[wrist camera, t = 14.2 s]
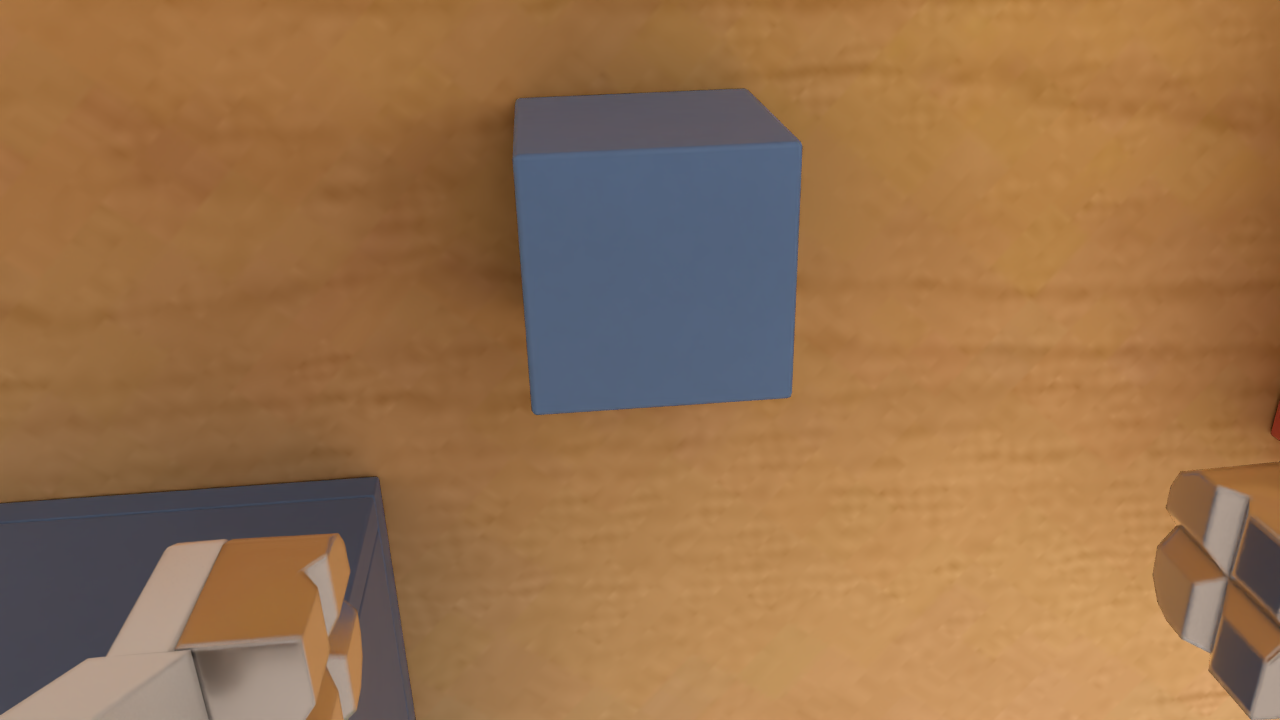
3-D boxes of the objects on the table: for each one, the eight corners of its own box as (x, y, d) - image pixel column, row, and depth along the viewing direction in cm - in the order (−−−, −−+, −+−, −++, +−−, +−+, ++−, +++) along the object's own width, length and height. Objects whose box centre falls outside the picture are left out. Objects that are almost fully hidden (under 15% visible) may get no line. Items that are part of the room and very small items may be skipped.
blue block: (514, 97, 19) (511, 155, 15) (748, 87, 20) (803, 141, 16) (530, 315, 21) (532, 417, 17) (743, 303, 22) (792, 399, 18)
